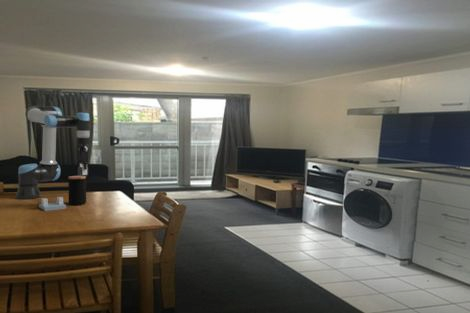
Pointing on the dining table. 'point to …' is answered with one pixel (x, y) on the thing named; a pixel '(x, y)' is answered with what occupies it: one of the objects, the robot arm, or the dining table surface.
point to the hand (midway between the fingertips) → (83, 174)
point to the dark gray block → (81, 170)
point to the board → (52, 204)
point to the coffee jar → (77, 190)
